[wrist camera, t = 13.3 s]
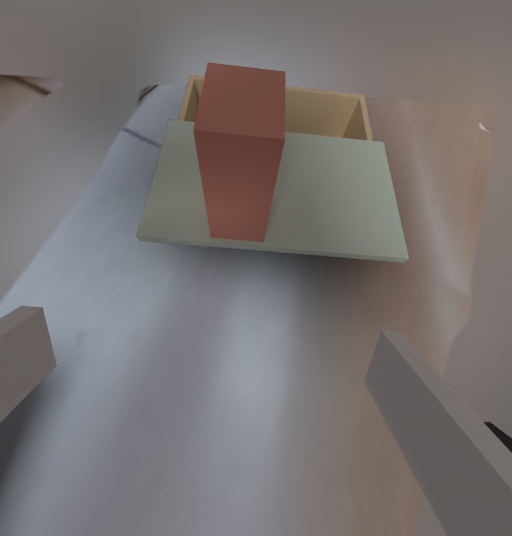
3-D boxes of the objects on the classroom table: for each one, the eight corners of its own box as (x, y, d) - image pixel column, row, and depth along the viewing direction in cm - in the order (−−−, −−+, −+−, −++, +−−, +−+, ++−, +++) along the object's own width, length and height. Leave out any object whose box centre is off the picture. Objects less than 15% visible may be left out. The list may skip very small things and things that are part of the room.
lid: (139, 240, 19) (59, 122, 10) (170, 126, 25) (135, -17, 16) (403, 262, 20) (533, 171, 12) (379, 148, 26) (456, 25, 17)
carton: (181, 195, 29) (169, 152, 23) (196, 124, 34) (189, 74, 28) (352, 211, 30) (379, 173, 24) (343, 139, 35) (364, 95, 29)
